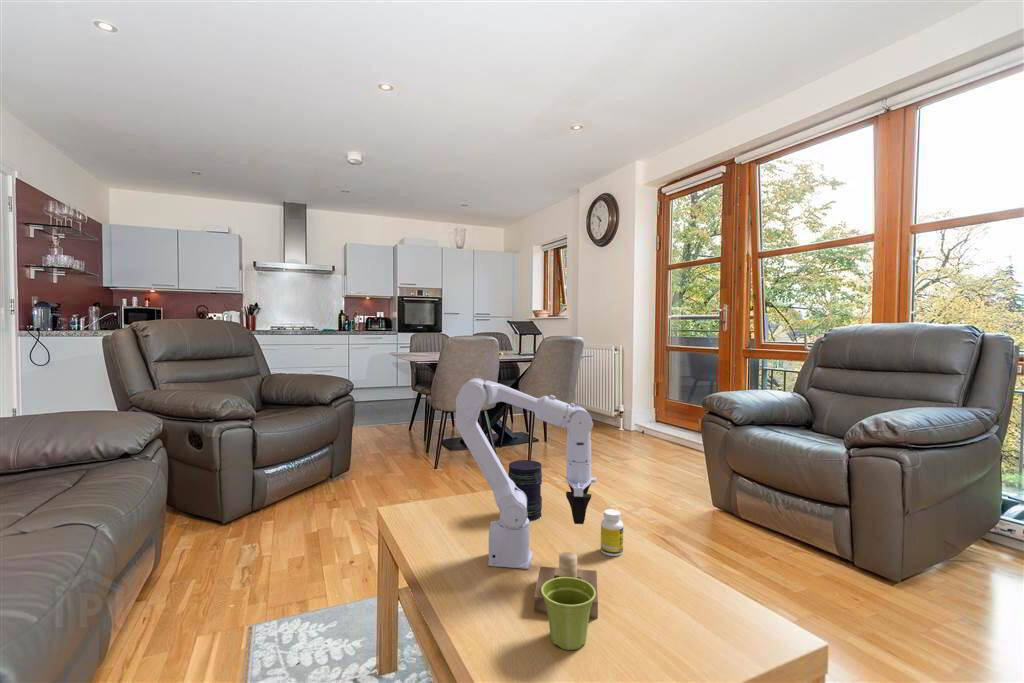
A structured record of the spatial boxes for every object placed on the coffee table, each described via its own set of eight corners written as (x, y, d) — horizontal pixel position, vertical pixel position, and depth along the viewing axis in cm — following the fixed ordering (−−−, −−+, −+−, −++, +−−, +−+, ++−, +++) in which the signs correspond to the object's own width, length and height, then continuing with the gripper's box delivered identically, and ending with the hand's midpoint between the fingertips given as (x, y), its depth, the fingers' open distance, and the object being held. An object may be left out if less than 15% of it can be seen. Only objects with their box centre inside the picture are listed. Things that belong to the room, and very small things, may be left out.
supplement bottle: (623, 558, 113) (623, 517, 112) (600, 555, 114) (600, 515, 114) (622, 547, 118) (623, 508, 118) (600, 546, 119) (600, 507, 119)
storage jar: (505, 520, 135) (505, 468, 135) (510, 508, 145) (510, 459, 145) (540, 522, 134) (540, 470, 134) (543, 509, 144) (543, 460, 143)
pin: (559, 599, 94) (559, 559, 94) (558, 590, 98) (559, 551, 97) (577, 600, 94) (577, 560, 94) (576, 591, 97) (576, 552, 97)
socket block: (534, 612, 91) (534, 596, 91) (540, 580, 103) (540, 566, 102) (597, 618, 89) (597, 602, 89) (596, 584, 101) (596, 570, 101)
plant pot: (537, 624, 87) (537, 577, 87) (588, 621, 88) (588, 575, 88) (545, 659, 78) (545, 606, 78) (601, 655, 78) (602, 604, 78)
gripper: (596, 468, 103) (597, 530, 103) (595, 452, 117) (596, 506, 117) (564, 467, 104) (564, 528, 104) (567, 451, 118) (567, 505, 119)
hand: (579, 517), depth 111 cm, fingers open, 7 cm apart
